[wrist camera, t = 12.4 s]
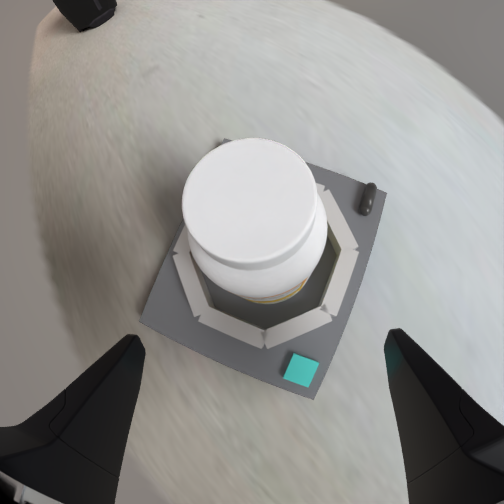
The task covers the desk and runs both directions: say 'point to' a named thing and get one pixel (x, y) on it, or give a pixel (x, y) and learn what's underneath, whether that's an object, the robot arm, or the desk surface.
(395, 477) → the desk surface
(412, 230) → the desk surface
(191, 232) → the supplement bottle
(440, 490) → the robot arm
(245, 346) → the charging dock
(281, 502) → the desk surface
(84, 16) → the portable speaker
